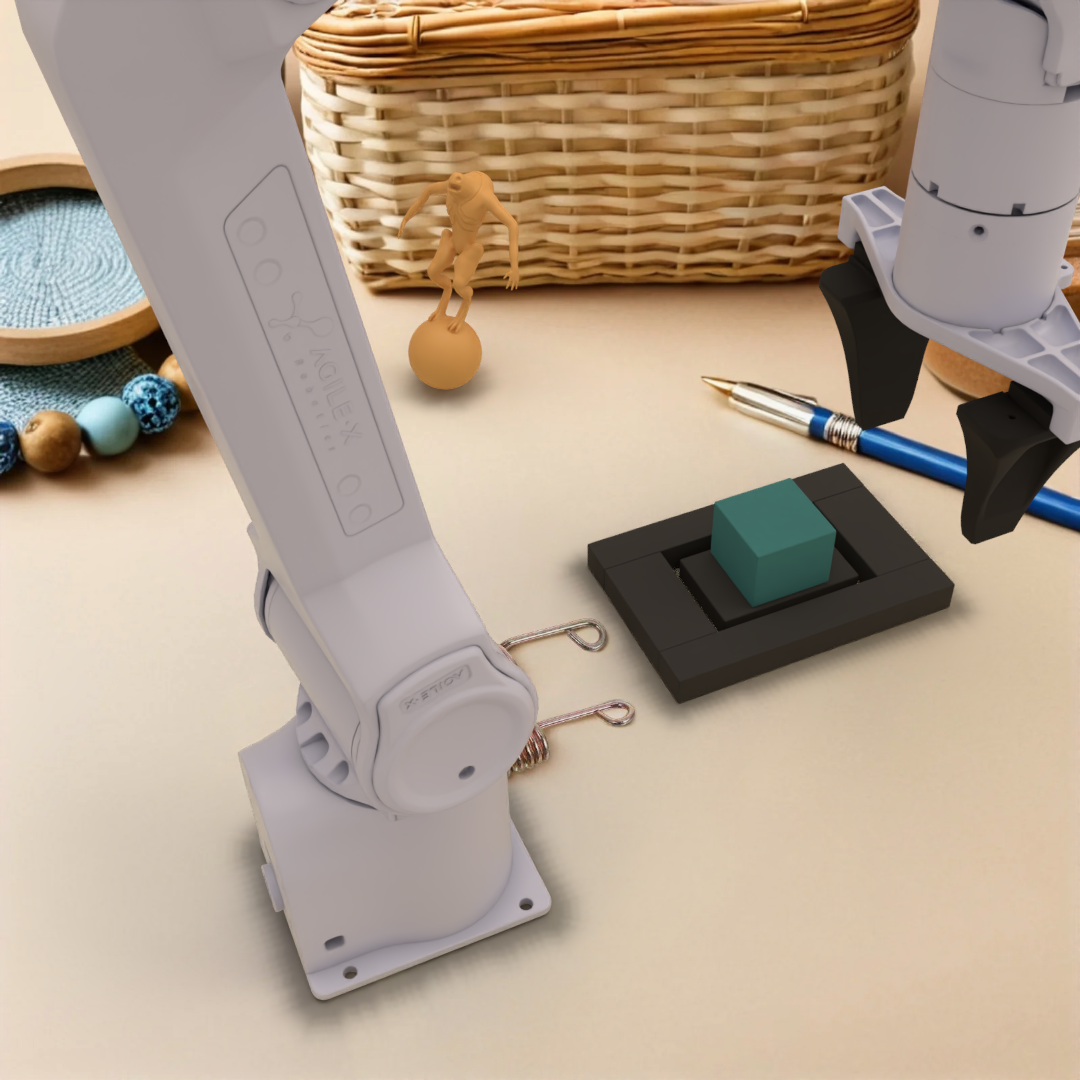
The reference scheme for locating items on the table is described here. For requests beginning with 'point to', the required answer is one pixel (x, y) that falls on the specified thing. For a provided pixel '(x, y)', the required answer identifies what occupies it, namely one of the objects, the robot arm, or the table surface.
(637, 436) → the table surface
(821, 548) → the teal block on base
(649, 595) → the dark rectangular frame
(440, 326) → the figurine
